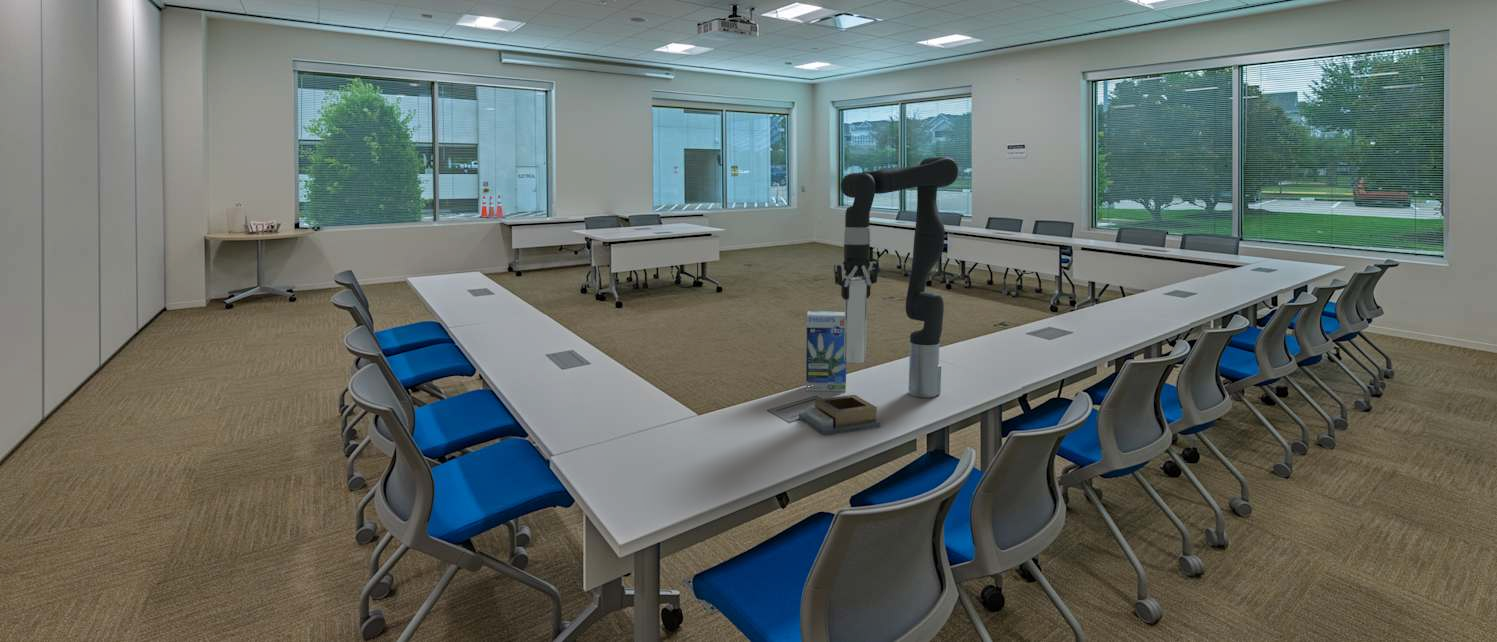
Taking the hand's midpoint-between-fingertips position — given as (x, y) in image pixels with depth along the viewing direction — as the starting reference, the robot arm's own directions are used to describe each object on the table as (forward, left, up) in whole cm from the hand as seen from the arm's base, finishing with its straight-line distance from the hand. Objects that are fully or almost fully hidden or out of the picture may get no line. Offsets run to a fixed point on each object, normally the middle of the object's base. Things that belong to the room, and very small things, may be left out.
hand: (855, 298), depth 218 cm
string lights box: (-1, -22, -34) cm, 40 cm away
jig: (+11, +11, -34) cm, 37 cm away
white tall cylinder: (0, 0, -19) cm, 19 cm away
